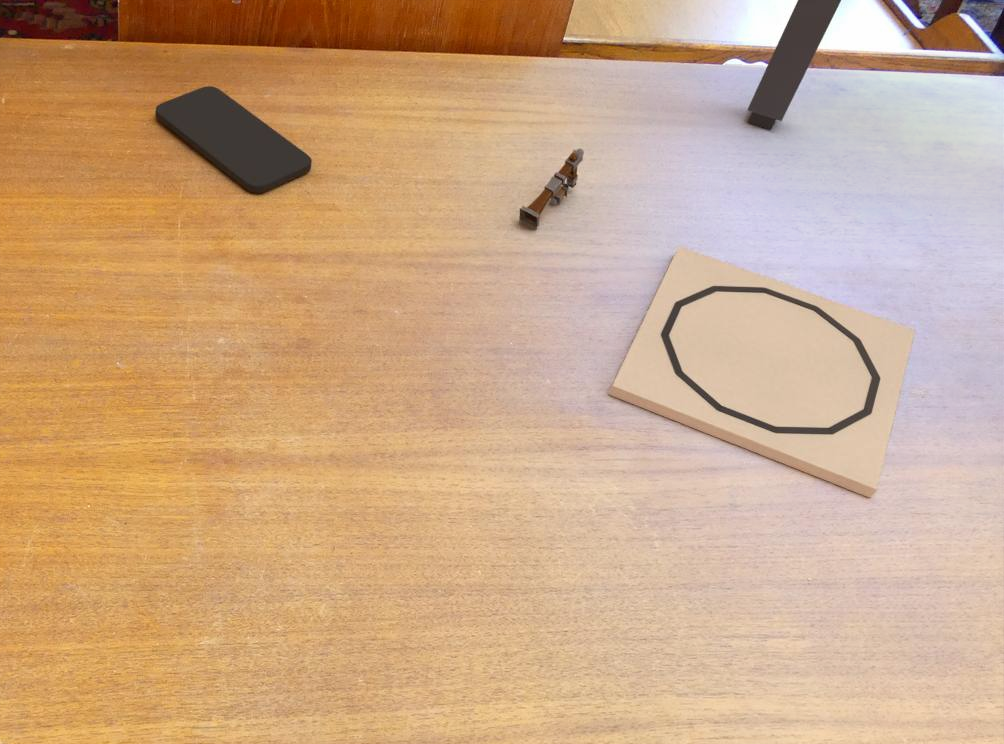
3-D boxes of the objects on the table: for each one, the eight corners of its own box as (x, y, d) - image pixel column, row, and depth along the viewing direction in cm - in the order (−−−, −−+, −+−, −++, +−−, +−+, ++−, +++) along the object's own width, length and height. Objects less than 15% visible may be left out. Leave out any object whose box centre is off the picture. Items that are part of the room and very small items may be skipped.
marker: (782, 118, 111) (858, -36, 99) (774, 134, 109) (851, -21, 97) (748, 107, 112) (819, -47, 100) (740, 123, 110) (812, -32, 98)
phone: (255, 189, 96) (149, 107, 102) (254, 198, 97) (149, 115, 103) (317, 161, 99) (212, 82, 105) (316, 169, 100) (211, 91, 106)
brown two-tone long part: (587, 180, 100) (591, 147, 96) (535, 246, 99) (537, 215, 95) (570, 171, 101) (573, 138, 97) (518, 236, 100) (519, 206, 96)
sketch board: (909, 339, 92) (916, 328, 91) (870, 498, 81) (878, 488, 80) (674, 254, 96) (679, 244, 95) (607, 394, 85) (612, 384, 84)
